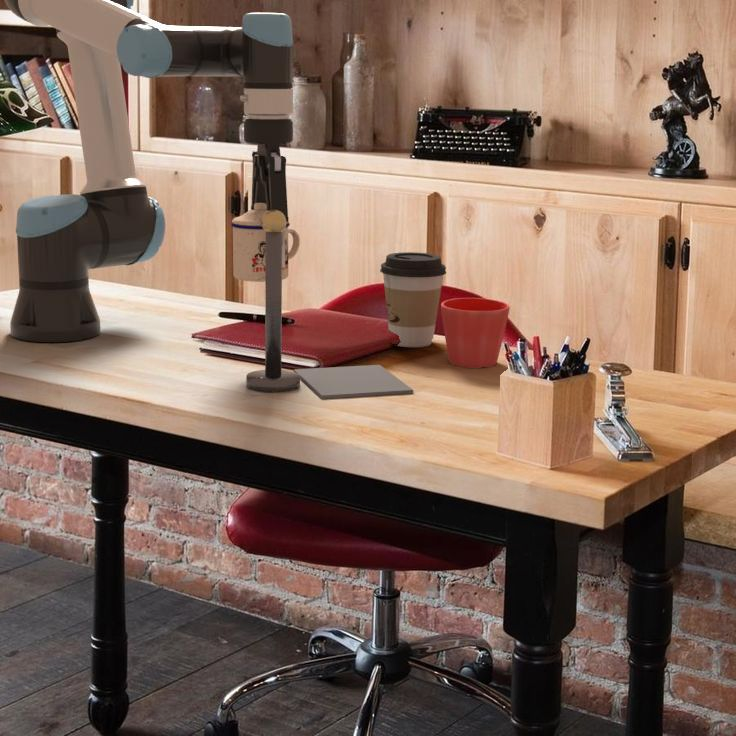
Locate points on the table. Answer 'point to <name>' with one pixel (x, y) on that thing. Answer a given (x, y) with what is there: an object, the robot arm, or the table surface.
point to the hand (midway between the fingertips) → (269, 262)
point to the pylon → (273, 313)
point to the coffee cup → (412, 295)
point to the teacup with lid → (256, 245)
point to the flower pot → (474, 330)
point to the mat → (352, 381)
